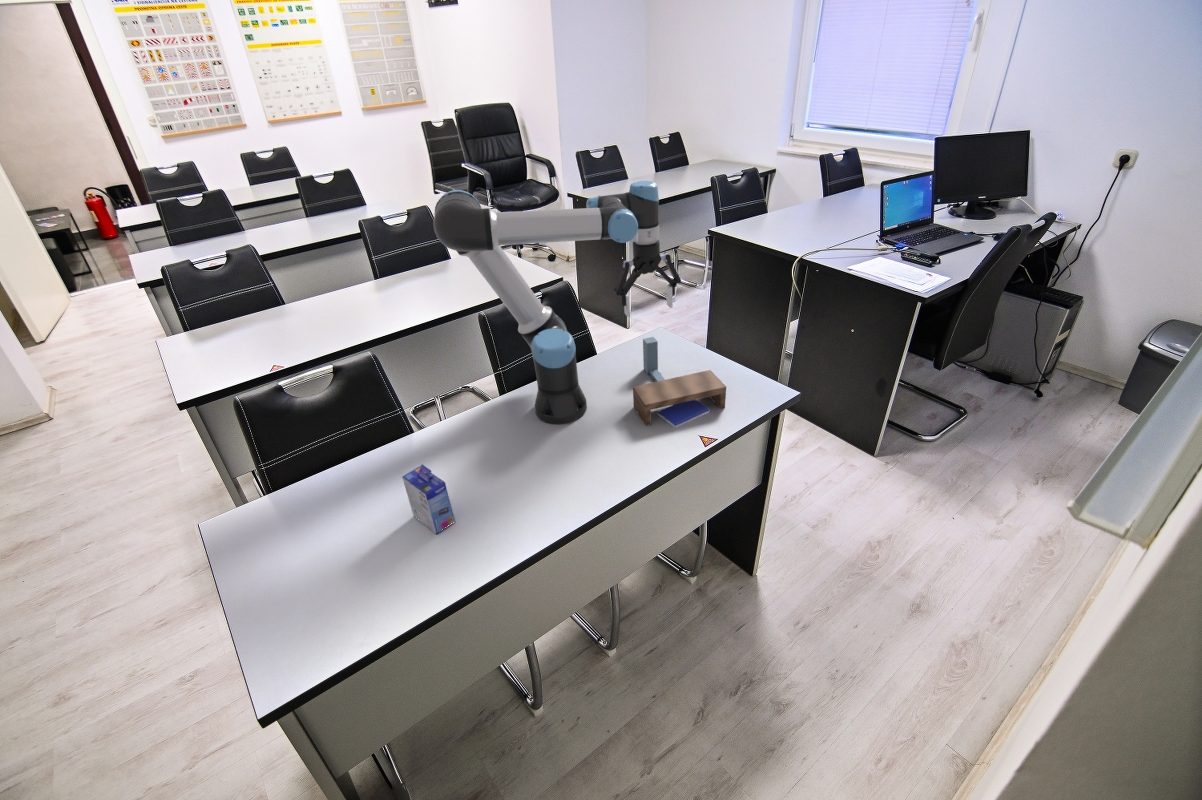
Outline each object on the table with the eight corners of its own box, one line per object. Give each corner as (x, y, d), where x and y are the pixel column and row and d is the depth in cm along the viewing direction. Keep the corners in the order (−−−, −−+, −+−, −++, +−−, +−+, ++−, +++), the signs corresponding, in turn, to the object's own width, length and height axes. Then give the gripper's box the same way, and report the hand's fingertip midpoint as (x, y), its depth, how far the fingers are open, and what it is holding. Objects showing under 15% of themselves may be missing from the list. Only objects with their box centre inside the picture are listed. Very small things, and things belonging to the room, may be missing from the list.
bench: (645, 426, 156) (645, 405, 152) (633, 407, 164) (632, 386, 160) (724, 407, 161) (726, 386, 157) (709, 390, 169) (710, 369, 165)
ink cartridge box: (457, 521, 129) (443, 473, 122) (437, 536, 126) (422, 487, 118) (433, 503, 135) (418, 456, 127) (413, 516, 132) (396, 468, 124)
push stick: (665, 398, 166) (665, 366, 160) (643, 369, 181) (642, 338, 175) (676, 396, 167) (677, 364, 161) (653, 367, 182) (653, 336, 176)
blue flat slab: (691, 396, 165) (656, 411, 160) (709, 408, 159) (675, 424, 154) (690, 400, 166) (657, 415, 160) (709, 413, 160) (675, 429, 155)
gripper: (607, 252, 152) (613, 323, 163) (692, 236, 157) (692, 306, 169) (599, 244, 158) (605, 313, 169) (681, 229, 163) (681, 297, 175)
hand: (648, 310), depth 169 cm, fingers open, 13 cm apart
